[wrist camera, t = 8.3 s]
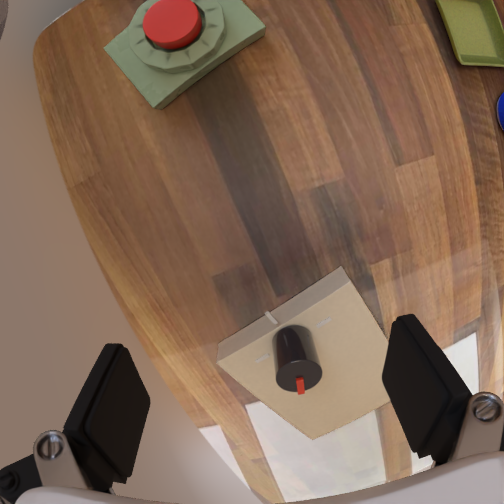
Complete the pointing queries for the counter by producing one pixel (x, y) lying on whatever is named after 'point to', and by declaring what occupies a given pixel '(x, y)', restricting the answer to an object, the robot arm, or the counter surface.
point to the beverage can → (501, 111)
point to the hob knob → (296, 359)
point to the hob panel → (329, 352)
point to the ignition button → (172, 23)
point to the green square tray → (474, 31)
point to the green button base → (183, 49)
